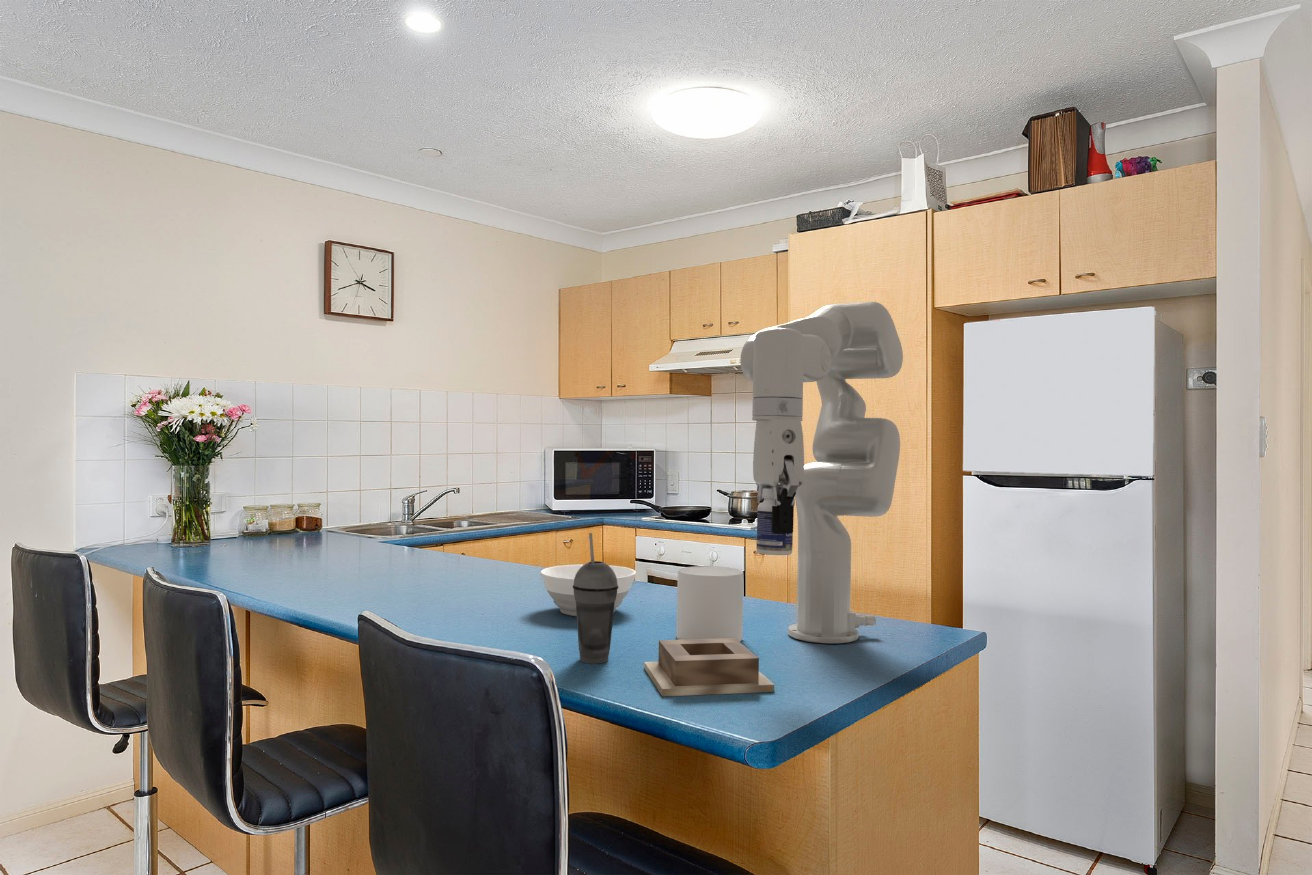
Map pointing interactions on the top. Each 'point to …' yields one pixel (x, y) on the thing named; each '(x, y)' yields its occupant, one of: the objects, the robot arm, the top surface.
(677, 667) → the hole block
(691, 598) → the white cylinder
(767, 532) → the pill bottle
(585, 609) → the beverage cup
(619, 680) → the top surface
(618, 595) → the bowl
